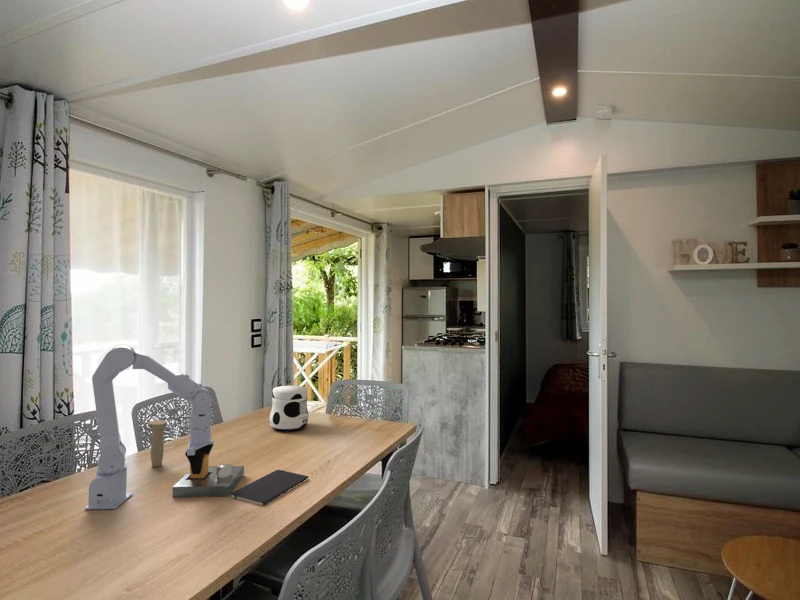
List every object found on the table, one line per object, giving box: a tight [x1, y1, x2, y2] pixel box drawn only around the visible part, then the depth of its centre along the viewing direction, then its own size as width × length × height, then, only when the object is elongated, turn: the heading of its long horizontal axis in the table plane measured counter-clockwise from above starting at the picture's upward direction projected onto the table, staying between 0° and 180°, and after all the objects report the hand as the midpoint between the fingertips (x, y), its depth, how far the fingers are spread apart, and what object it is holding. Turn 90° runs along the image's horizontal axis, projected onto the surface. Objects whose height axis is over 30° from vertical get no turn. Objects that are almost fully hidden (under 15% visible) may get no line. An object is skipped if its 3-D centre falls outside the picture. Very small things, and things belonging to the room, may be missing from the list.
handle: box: [147, 419, 168, 468], centre depth 152 cm, size 5×6×15 cm
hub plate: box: [171, 463, 245, 498], centre depth 136 cm, size 16×16×6 cm
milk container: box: [269, 385, 310, 432], centre depth 200 cm, size 17×17×18 cm
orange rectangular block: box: [189, 454, 210, 478], centre depth 136 cm, size 4×4×6 cm
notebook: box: [230, 469, 309, 506], centre depth 136 cm, size 13×2×21 cm
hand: (199, 470), depth 136 cm, fingers closed on orange rectangular block, 4 cm apart
